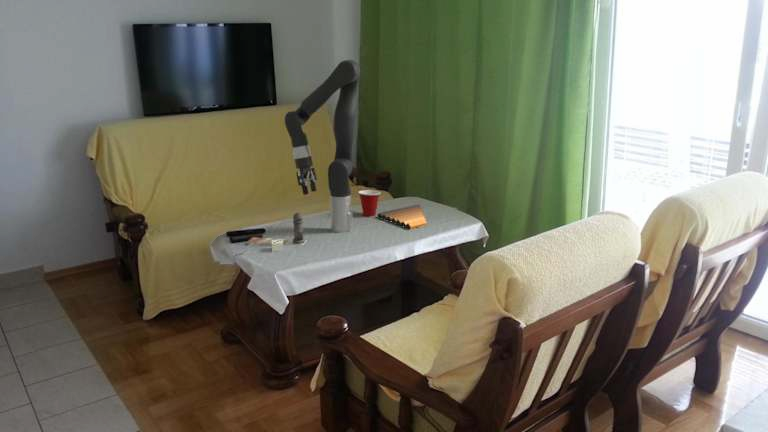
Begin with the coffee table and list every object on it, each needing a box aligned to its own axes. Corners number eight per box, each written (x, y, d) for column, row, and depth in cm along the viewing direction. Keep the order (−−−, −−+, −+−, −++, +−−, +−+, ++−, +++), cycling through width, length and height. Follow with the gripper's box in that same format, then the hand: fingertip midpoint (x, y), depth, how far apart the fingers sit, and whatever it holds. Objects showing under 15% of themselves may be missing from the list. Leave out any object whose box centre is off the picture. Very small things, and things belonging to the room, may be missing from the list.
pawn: (306, 240, 262) (305, 211, 258) (302, 244, 257) (301, 214, 253) (294, 239, 262) (293, 211, 259) (291, 243, 258) (290, 214, 254)
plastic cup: (384, 214, 304) (384, 190, 300) (372, 219, 295) (372, 195, 292) (366, 210, 309) (366, 187, 306) (354, 216, 301) (353, 192, 297)
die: (283, 249, 254) (282, 239, 252) (283, 253, 250) (283, 242, 248) (272, 250, 253) (271, 240, 252) (272, 254, 249) (271, 243, 247)
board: (310, 242, 263) (310, 239, 263) (305, 248, 255) (305, 245, 255) (252, 239, 267) (252, 236, 266) (245, 245, 259) (245, 242, 259)
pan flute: (416, 209, 313) (377, 218, 298) (416, 203, 312) (377, 211, 297) (450, 221, 294) (410, 231, 280) (450, 214, 293) (410, 224, 279)
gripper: (303, 157, 260) (311, 194, 263) (317, 153, 274) (324, 189, 276) (287, 159, 263) (295, 196, 265) (302, 156, 276) (309, 191, 278)
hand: (310, 192), depth 271 cm, fingers open, 8 cm apart
